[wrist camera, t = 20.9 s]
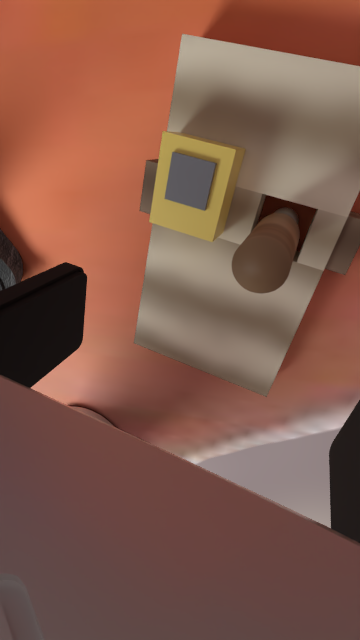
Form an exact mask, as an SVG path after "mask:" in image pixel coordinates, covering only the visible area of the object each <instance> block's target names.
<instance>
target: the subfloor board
mask: <svg viewBox="0 0 360 640" xmlns="http://www.w3.org/2000/svg"><path fill="white" fill-rule="evenodd" d="M167 131H168V132H181V133H185V134H189V135H193V136H197V137H201V138H205V139H209V140H213V141H217V142H221V143H225V144H229V145H233V146H237V147H241V148H245V149H246V150H245V153H244V157H243V161H242V165H241V168H240V172H239V176H238V179H237V183H236V187H235V191H234V194H233V198H232V202H231V206H230V209H229V213H228V217H227V220H226V224H225V228H224V232H223V233H222V234H221V235H220V236H219V237H218V238H217V239H216V240H214V241H213V242H210V241H207V240H204V239H201V238H198V237H194V236H191V235H188V234H185V233H182V232H179V231H176V230H172V229H169V228H166V227H163V226H160V225H157V224H154V223H153V224H152V230H151V237H150V243H149V250H148V256H147V262H146V269H145V275H144V282H143V288H142V295H141V301H140V307H139V314H138V320H137V327H136V333H135V339H134V343H135V344H137V345H140V346H142V347H145V348H147V349H150V350H152V351H155V352H157V353H160V354H162V355H164V356H167V357H169V358H172V359H174V360H177V361H179V362H182V363H184V364H187V365H189V366H192V367H194V368H196V369H199V370H201V371H204V372H206V373H209V374H211V375H214V376H216V377H219V378H221V379H224V380H226V381H228V382H231V383H233V384H236V385H238V386H241V387H243V388H246V389H248V390H251V391H253V392H256V393H258V394H260V395H263V396H265V397H267V395H268V392H269V390H270V388H271V386H272V384H273V381H274V379H275V377H276V375H277V373H278V370H279V368H280V366H281V364H282V361H283V359H284V357H285V355H286V353H287V350H288V348H289V346H290V344H291V342H292V339H293V337H294V335H295V333H296V330H297V328H298V326H299V324H300V322H301V319H302V317H303V315H304V313H305V311H306V308H307V306H308V304H309V302H310V300H311V297H312V295H313V293H314V291H315V288H316V286H317V284H318V282H319V280H320V277H321V275H322V273H323V271H324V269H328V270H331V271H334V272H337V273H340V274H344V275H345V274H346V272H347V270H348V268H349V266H350V264H351V262H352V260H353V258H354V256H355V254H356V252H357V250H358V248H359V246H360V214H359V213H355V212H351V209H352V207H353V204H354V202H355V200H356V198H357V195H358V193H359V191H360V66H355V65H350V64H344V63H339V62H333V61H328V60H322V59H317V58H311V57H306V56H301V55H295V54H290V53H284V52H279V51H273V50H268V49H262V48H257V47H251V46H246V45H241V44H235V43H230V42H224V41H219V40H213V39H208V38H202V37H197V36H191V35H186V34H182V38H181V45H180V51H179V58H178V64H177V70H176V77H175V83H174V90H173V96H172V102H171V109H170V115H169V122H168V128H167ZM158 160H159V159H154V160H146V167H145V174H144V182H143V189H142V197H141V204H140V211H142V212H145V213H148V214H150V213H151V206H152V200H153V193H154V186H155V180H156V173H157V166H158ZM266 195H269V196H272V197H276V198H280V199H283V200H287V201H291V202H294V203H298V204H301V205H305V206H309V207H312V208H316V212H315V214H314V217H313V219H312V222H311V224H310V227H309V229H308V232H307V234H306V237H305V239H304V242H303V244H302V247H301V249H300V252H299V251H296V252H295V255H294V259H293V262H292V266H291V269H290V273H289V276H288V278H287V280H286V281H285V283H284V284H283V285H282V286H281V287H280V288H278V289H277V290H275V291H272V292H269V293H263V294H260V293H253V292H250V291H248V290H246V289H244V288H243V287H242V286H241V285H240V284H239V283H238V282H237V281H236V279H235V277H234V275H233V272H232V258H233V255H234V253H235V251H236V250H237V248H238V247H239V246H240V245H241V244H242V242H243V241H244V240H245V239H246V238H247V236H248V235H249V234H250V233H251V232H252V230H253V229H254V228H255V227H256V226H257V223H258V220H259V217H260V214H261V211H262V207H263V204H264V201H265V198H266Z"/></svg>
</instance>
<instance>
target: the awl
mask: <svg viewBox="0 0 360 640" xmlns="http://www.w3.org/2000/svg"><path fill="white" fill-rule="evenodd" d="M298 222H299V219H298V215H297V213H296V212H295V211H294V210H293V209H291V208H288V207H283V208H279V209H278V210H276V211H275V212H274V213H273V214H270V215H268V216H266V217H264V218H263V219H262V220H261V221H260V222H259V223H258V224H257V226H256V227H255V228H254V229H253V230H252V232H251V233H250V234H249V235H248V236H247V238H246V239H245V240H244V241H243V242H242V244H241V245H240V246H239V247H238V248H237V250H236V251H235V253H234V255H233V258H232V272H233V275H234V277H235V279H236V281H237V282H238V283H239V284H240V285H241V286H242V287H243V288H244V289H246V290H248V291H250V292H253V293H260V294H263V293H269V292H272V291H275V290H277V289H278V288H280V287H281V286H282V285H283V284H284V283H285V281H286V280H287V278H288V276H289V273H290V269H291V266H292V262H293V259H294V255H295V252H296V248H297V245H298V241H299V237H300V231H299V227H298Z"/></svg>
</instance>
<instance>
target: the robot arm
mask: <svg viewBox="0 0 360 640" xmlns="http://www.w3.org/2000/svg"><path fill="white" fill-rule="evenodd" d="M86 286H87V276H86V274H85V273H84V271H83V269H82V268H81V267H78V266H75V265H72V264H70V263H67V262H66V263H62V264H60V265H58V266H56V267H53V268H51V269H49V270H47V271H44V272H42V273H40V274H38V275H35V276H33V277H31V278H28V279H26V280H24V281H22V282H19V283H17V284H15V285H13V286H10V287H8V288H6V289H4V290H1V291H0V640H360V400H359V402H358V403H357V405H356V407H355V408H354V410H353V411H352V413H351V414H350V416H349V418H348V419H347V421H346V422H345V424H344V425H343V427H342V428H341V430H340V432H339V433H338V435H337V436H336V438H335V439H334V441H333V443H332V445H331V448H330V452H329V465H330V505H331V528H328V527H327V526H325V525H323V524H320V523H318V522H316V521H314V520H312V519H310V518H307V517H305V516H303V515H301V514H299V513H297V512H295V511H293V510H291V509H289V508H287V507H284V506H282V505H280V504H278V503H276V502H274V501H272V500H270V499H268V498H265V497H263V496H261V495H259V494H257V493H255V492H253V491H250V490H248V489H246V488H244V487H242V486H240V485H237V484H235V483H233V482H231V481H229V480H227V479H225V478H223V477H221V476H218V475H217V474H214V473H212V472H210V471H208V470H206V469H204V468H202V467H200V466H197V465H195V464H193V463H191V462H189V461H187V460H185V459H182V458H180V457H178V456H176V455H174V454H172V453H170V452H167V451H165V450H163V449H161V448H159V447H157V446H154V445H152V444H150V443H148V442H146V441H144V440H142V439H139V438H137V437H135V436H133V435H131V434H129V433H126V432H124V431H122V430H120V429H118V428H116V427H114V426H113V425H112V424H111V423H110V422H109V421H108V420H107V419H105V418H104V417H102V416H101V415H99V414H98V413H96V412H94V411H92V410H89V409H86V408H82V407H77V406H72V407H70V406H68V405H66V404H64V403H61V402H59V401H57V400H55V399H53V398H50V397H48V396H46V395H44V394H42V393H39V392H37V391H35V390H33V389H31V387H32V386H33V385H34V384H36V383H37V382H38V381H39V380H40V379H42V378H43V377H44V376H45V375H46V374H48V373H49V372H50V371H51V370H53V369H54V368H55V367H56V366H57V365H59V364H60V363H61V362H62V361H64V360H65V359H66V358H67V357H68V356H70V355H71V354H72V353H73V352H74V351H76V350H77V349H78V348H79V347H80V345H81V343H82V340H83V328H84V314H85V300H86Z"/></svg>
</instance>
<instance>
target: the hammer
mask: <svg viewBox="0 0 360 640" xmlns="http://www.w3.org/2000/svg"><path fill="white" fill-rule="evenodd" d="M22 275H23V264H22V260H21V257H20V255H19V252H18V251H17V249H16V248H15V247H14V246H13V244H12V243H11V242H10V240H9V239H8V238H7V237H6V235H5V234H4V233H3V232H2V230H1V229H0V291H1V290H4V289H6V288H8V287H10V286H13V285H15V284H17V283H19V282H21V279H22Z"/></svg>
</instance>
